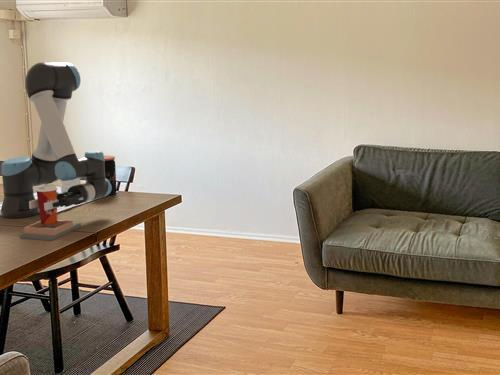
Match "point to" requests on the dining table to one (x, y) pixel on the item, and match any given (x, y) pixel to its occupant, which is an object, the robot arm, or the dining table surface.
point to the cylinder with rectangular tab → (69, 184)
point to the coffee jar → (110, 172)
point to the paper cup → (45, 195)
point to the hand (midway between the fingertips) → (37, 205)
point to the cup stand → (49, 230)
